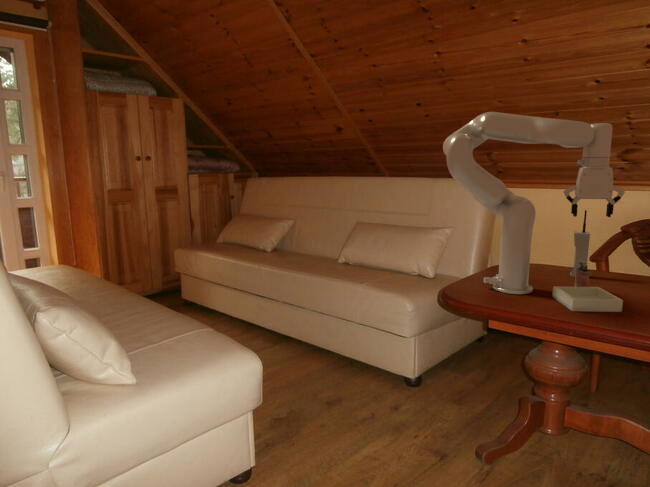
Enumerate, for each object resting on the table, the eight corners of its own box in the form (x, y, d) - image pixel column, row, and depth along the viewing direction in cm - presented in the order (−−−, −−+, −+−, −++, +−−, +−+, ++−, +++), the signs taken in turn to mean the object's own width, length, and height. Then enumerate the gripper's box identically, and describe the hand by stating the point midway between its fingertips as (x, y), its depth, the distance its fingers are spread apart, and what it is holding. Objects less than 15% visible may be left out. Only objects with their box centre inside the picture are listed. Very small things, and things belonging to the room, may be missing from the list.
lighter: (590, 294, 151) (593, 265, 149) (579, 294, 152) (582, 264, 150) (582, 288, 159) (584, 259, 157) (571, 287, 160) (574, 259, 158)
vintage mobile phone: (570, 274, 177) (576, 209, 172) (585, 275, 175) (591, 209, 170) (570, 276, 174) (576, 210, 169) (585, 278, 172) (592, 211, 167)
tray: (571, 311, 136) (573, 299, 135) (552, 296, 149) (553, 286, 149) (621, 311, 135) (623, 300, 134) (597, 297, 148) (598, 286, 148)
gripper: (567, 164, 147) (563, 217, 150) (630, 162, 141) (625, 218, 144) (563, 163, 154) (560, 214, 157) (624, 162, 148) (619, 215, 151)
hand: (591, 216), depth 151 cm, fingers open, 9 cm apart
